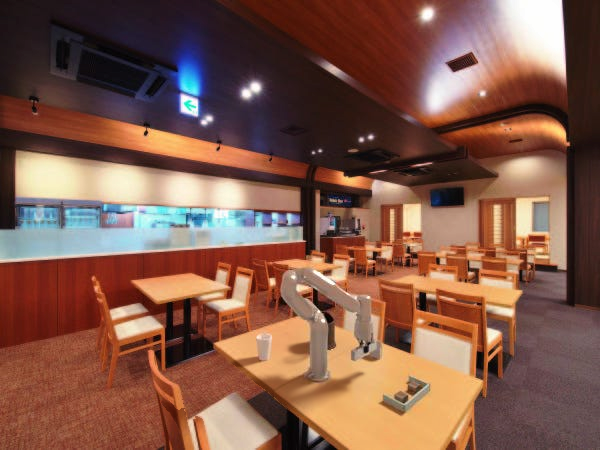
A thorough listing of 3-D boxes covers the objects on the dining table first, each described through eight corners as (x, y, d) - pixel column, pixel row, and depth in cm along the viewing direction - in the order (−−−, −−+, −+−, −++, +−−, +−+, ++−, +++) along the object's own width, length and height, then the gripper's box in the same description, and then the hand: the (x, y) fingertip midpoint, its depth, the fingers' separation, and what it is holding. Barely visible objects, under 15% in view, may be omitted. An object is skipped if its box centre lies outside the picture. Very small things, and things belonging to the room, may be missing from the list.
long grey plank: (354, 361, 141) (354, 351, 141) (351, 359, 143) (350, 350, 143) (376, 348, 154) (376, 339, 154) (373, 347, 156) (372, 338, 156)
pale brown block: (379, 359, 165) (380, 342, 165) (369, 356, 169) (369, 340, 169) (382, 357, 168) (382, 340, 168) (371, 353, 172) (371, 338, 172)
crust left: (401, 405, 123) (401, 398, 123) (394, 400, 126) (394, 394, 126) (408, 401, 126) (408, 394, 126) (400, 396, 129) (400, 390, 129)
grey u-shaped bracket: (404, 415, 117) (404, 405, 117) (382, 402, 126) (382, 394, 126) (430, 392, 134) (430, 383, 134) (409, 382, 142) (409, 374, 142)
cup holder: (336, 339, 193) (336, 304, 193) (337, 355, 169) (337, 315, 169) (310, 338, 195) (310, 303, 195) (307, 354, 171) (307, 314, 171)
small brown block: (415, 394, 131) (415, 388, 131) (407, 390, 134) (407, 384, 134) (420, 390, 134) (420, 384, 134) (413, 386, 137) (413, 380, 137)
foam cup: (272, 354, 170) (272, 333, 170) (271, 361, 161) (271, 339, 161) (257, 354, 170) (257, 333, 170) (255, 362, 161) (255, 340, 161)
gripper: (348, 315, 152) (348, 348, 152) (372, 323, 140) (372, 359, 140) (356, 313, 157) (356, 344, 157) (380, 320, 145) (380, 354, 145)
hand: (364, 351), depth 149 cm, fingers closed on long grey plank, 2 cm apart
